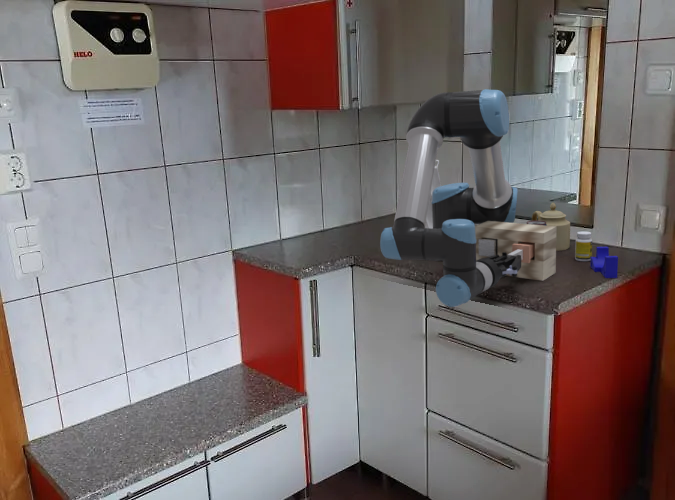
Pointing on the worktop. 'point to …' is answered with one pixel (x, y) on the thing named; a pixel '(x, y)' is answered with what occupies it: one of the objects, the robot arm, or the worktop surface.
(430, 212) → the skyscraper
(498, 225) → the housing
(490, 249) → the grey plug
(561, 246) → the sugar bowl
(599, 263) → the blue curved cradle
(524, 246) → the terracotta plug
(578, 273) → the worktop surface
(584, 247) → the supplement bottle
